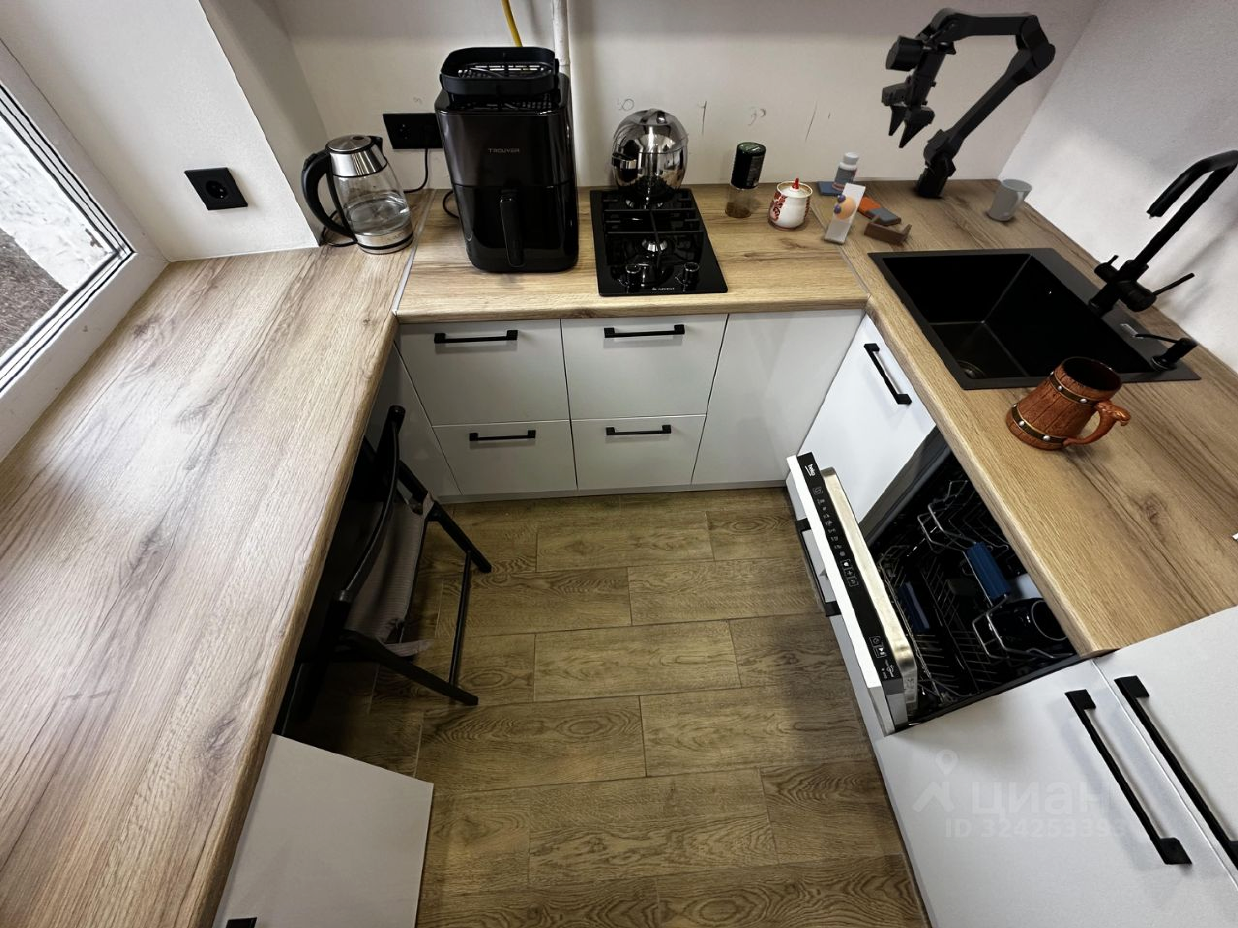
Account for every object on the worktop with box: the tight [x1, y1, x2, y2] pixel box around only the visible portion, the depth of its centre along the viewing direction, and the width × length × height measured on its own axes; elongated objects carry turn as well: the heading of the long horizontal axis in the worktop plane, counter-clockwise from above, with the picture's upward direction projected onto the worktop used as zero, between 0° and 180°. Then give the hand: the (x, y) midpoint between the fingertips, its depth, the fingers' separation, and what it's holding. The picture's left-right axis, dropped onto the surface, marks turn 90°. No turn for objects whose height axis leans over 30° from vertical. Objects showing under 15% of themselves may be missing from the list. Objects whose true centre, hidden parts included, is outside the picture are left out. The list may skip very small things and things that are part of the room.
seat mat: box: [816, 180, 864, 198], centre depth 155 cm, size 12×8×1 cm, turn 84°
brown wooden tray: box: [863, 215, 913, 246], centre depth 137 cm, size 6×9×3 cm
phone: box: [857, 196, 903, 227], centre depth 145 cm, size 6×1×15 cm
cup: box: [987, 178, 1033, 222], centre depth 142 cm, size 8×10×8 cm
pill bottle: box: [832, 151, 860, 191], centre depth 151 cm, size 5×5×9 cm
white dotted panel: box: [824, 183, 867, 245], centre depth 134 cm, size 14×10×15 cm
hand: (895, 142), depth 145 cm, fingers open, 9 cm apart
